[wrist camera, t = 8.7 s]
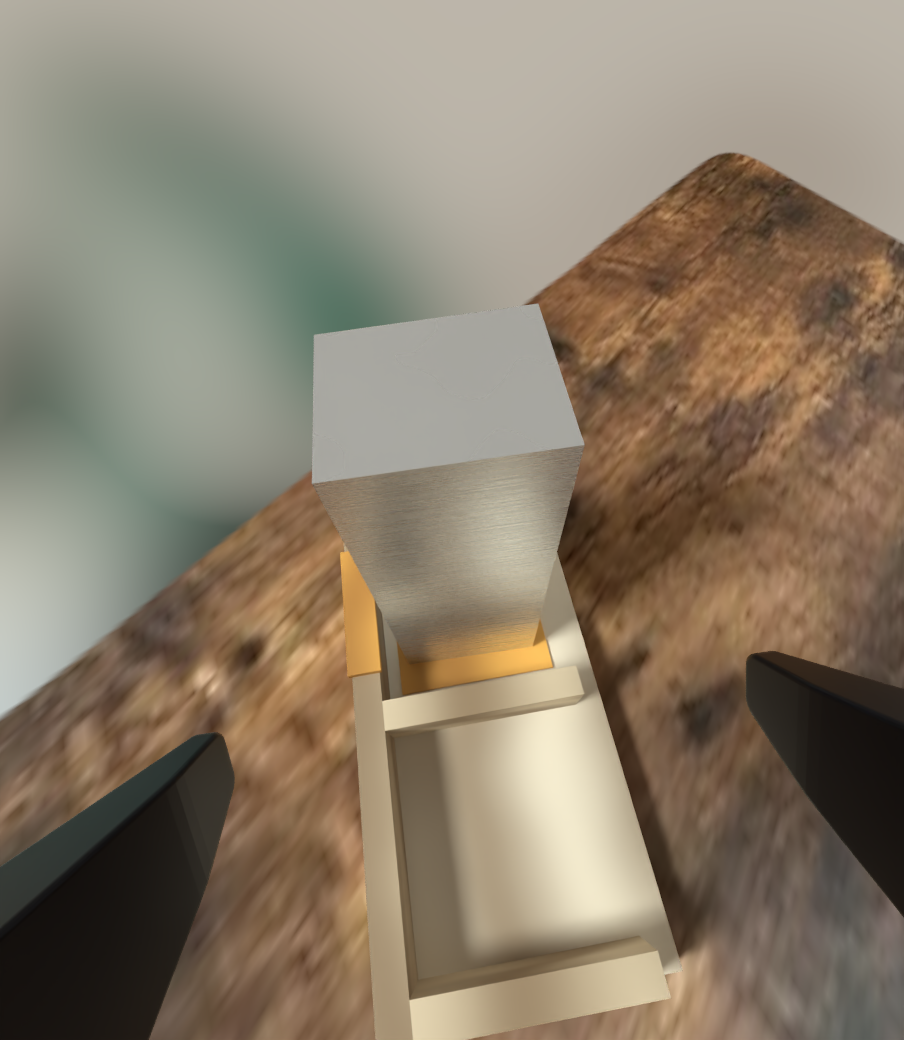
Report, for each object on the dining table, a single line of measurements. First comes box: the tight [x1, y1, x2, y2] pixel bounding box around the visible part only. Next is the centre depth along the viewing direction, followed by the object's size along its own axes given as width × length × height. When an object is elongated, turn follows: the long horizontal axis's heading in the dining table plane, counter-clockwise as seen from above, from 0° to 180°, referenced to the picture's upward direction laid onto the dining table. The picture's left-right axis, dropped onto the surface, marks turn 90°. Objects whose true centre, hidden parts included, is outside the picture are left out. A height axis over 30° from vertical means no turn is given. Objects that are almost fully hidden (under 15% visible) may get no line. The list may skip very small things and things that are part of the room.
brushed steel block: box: [312, 304, 584, 664], centre depth 16 cm, size 4×5×13 cm
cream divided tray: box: [340, 544, 683, 1040], centre depth 19 cm, size 9×17×3 cm, turn 9°
